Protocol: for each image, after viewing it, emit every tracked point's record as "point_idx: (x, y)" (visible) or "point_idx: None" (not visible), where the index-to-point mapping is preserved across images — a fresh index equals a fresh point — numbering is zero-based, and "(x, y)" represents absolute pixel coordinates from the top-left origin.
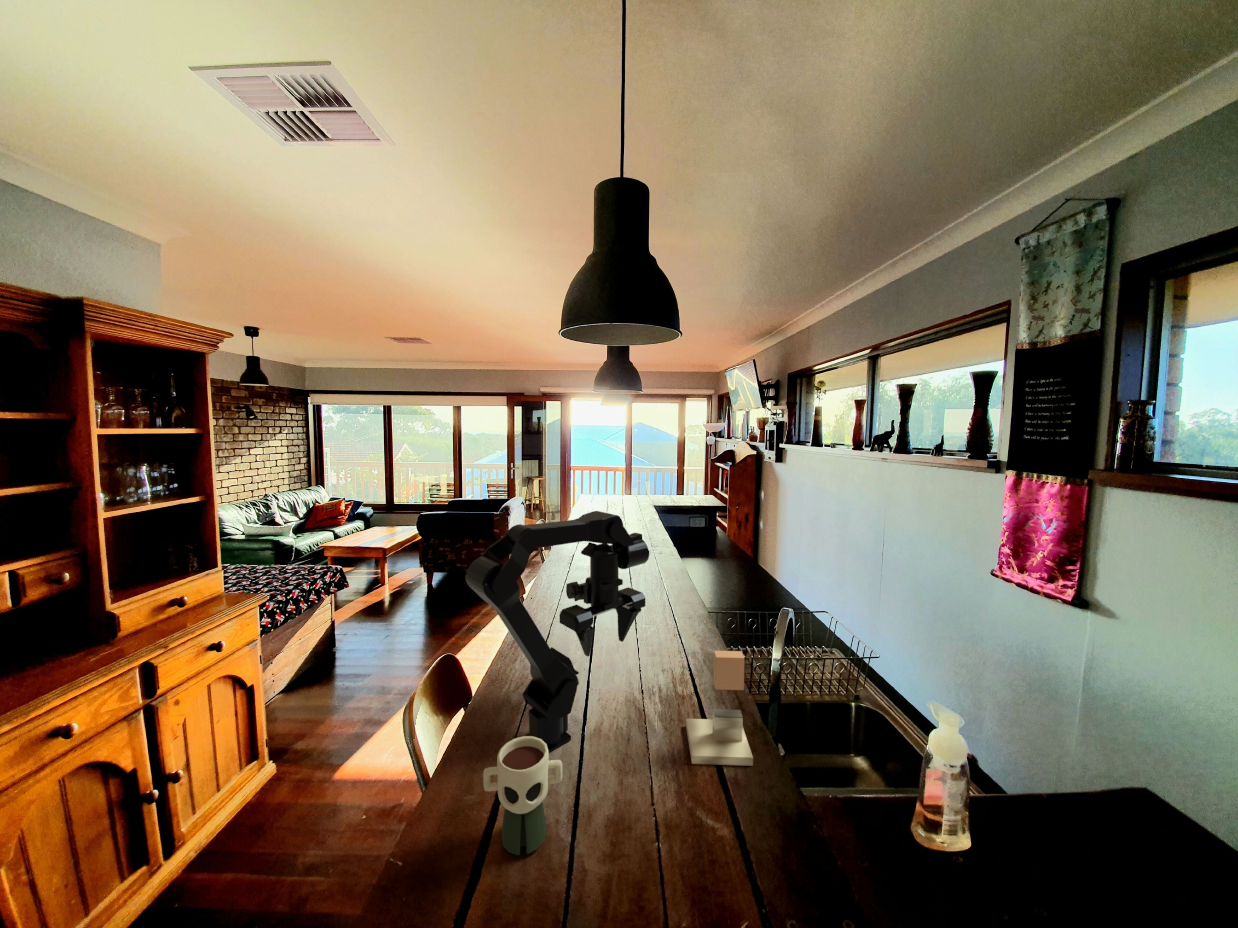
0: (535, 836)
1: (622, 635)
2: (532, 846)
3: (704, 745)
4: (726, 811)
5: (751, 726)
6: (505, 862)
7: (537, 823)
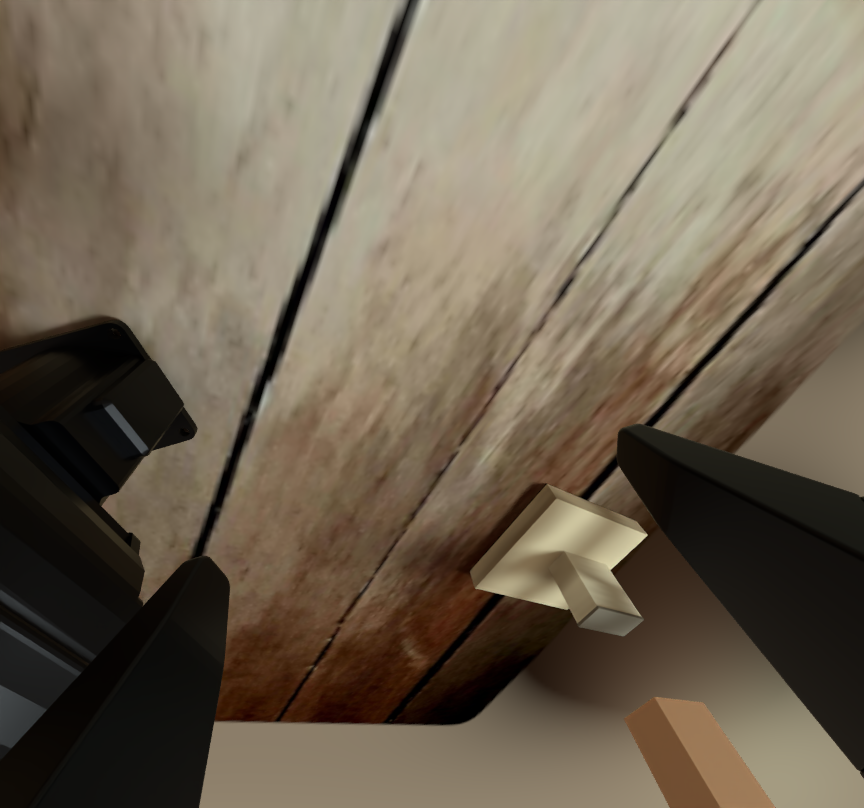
0: None
1: (659, 512)
2: None
3: (518, 573)
4: (447, 644)
5: (655, 524)
6: None
7: None
